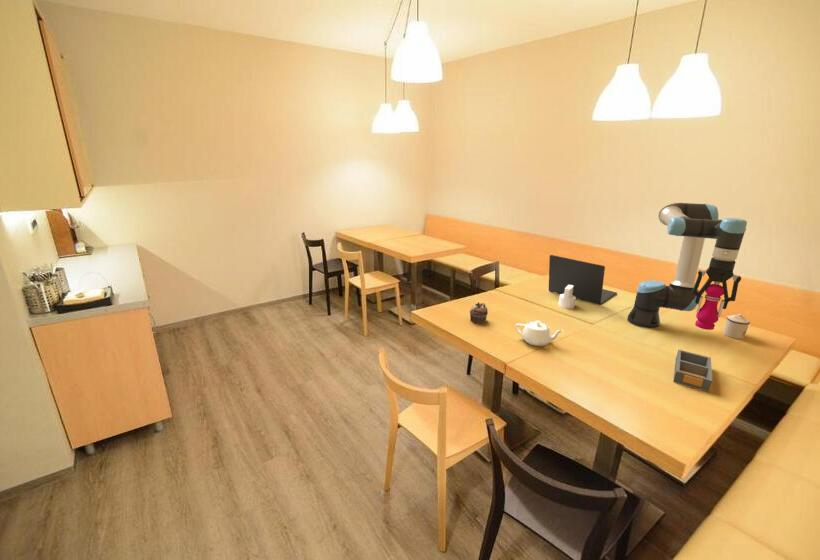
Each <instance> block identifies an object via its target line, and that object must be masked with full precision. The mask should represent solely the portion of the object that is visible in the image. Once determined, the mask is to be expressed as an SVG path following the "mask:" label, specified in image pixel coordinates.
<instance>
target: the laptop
mask: <svg viewBox="0 0 820 560" xmlns="http://www.w3.org/2000/svg"><path fill="white" fill-rule="evenodd" d="M605 269H606V266H605V265H602V264H596V263H594V262H593V263H591V262H587V261H583V260H577V259H572V258H569V257H563V256H559V255H553V254H549V269H548V291H549V292H551V293H555V294H559V295H561V294H564V291H565V288H566V287H567V286H568V285H573V286H574V287H573V293H572V295H573V296H575V297H576V299H577V300H581V301H584V302H588V303H592V304H595V305H598V304H599V306H601V305H602V304H605V302H607V301H608V300H610V299H611V298H613V297H615V296H616V295H617V294H618V292H617V291H612V290H608V289H604V287H603V286H604V278H605V272H606V271H605Z"/></svg>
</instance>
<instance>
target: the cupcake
mask: <svg viewBox="0 0 820 560" xmlns="http://www.w3.org/2000/svg"><path fill="white" fill-rule="evenodd" d="M487 317H488V307H487V306H486V303H485V302H481V303H480V302H477V303H475V304H474V305H473V306H472V307H471V309H470V310H469V318H470V321H471V322H473V323H474V324H477V323H478V324H483V323H485V322H486V320H487Z"/></svg>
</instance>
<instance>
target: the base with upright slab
mask: <svg viewBox="0 0 820 560" xmlns="http://www.w3.org/2000/svg"><path fill="white" fill-rule="evenodd" d="M573 287H574V286H573V285H568V286H567V287H566V288H565V291H564V294H559V299H558V303H557V305H558V307H560V308H563V309H567V310H568V309H569V310H570V309H571V310H572V309H574V308H575V305H576V299H577V298H576V297H575V296H573V295H572V293H573Z"/></svg>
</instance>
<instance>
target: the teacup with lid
mask: <svg viewBox="0 0 820 560" xmlns="http://www.w3.org/2000/svg"><path fill="white" fill-rule="evenodd" d="M750 324H751V322H750V320H749V319H747V318H745V316H743V314H741V313H737V314H735V315H733V314H732V315H727V316H726V319H725V324H724V326H723V330H722V333H723V335H724V336H725V337H728V338H732V339H736V340H738V339H739V340H742V339H744V338H745V337H746V334H747V330H748V328H749V325H750Z"/></svg>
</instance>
